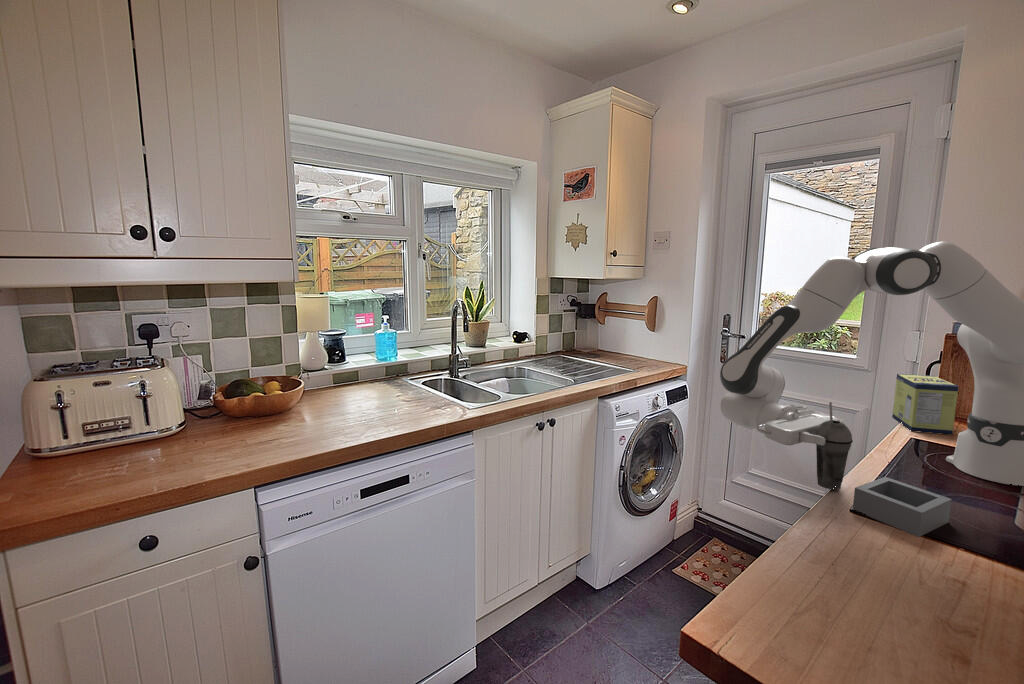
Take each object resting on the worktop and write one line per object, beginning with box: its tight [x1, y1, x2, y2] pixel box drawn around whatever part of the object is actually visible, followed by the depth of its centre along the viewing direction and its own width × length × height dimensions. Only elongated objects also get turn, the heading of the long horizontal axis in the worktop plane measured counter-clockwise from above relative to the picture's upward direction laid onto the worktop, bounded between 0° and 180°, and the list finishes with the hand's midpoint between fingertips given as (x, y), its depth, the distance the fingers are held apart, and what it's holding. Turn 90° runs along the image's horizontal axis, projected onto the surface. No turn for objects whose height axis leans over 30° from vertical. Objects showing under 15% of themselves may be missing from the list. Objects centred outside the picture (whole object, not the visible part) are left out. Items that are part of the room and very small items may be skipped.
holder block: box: [852, 476, 953, 538], centre depth 95 cm, size 12×12×5 cm
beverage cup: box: [815, 401, 854, 491], centre depth 106 cm, size 7×7×20 cm
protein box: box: [891, 373, 959, 435], centre depth 148 cm, size 10×16×16 cm
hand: (837, 438), depth 105 cm, fingers closed on beverage cup, 7 cm apart
